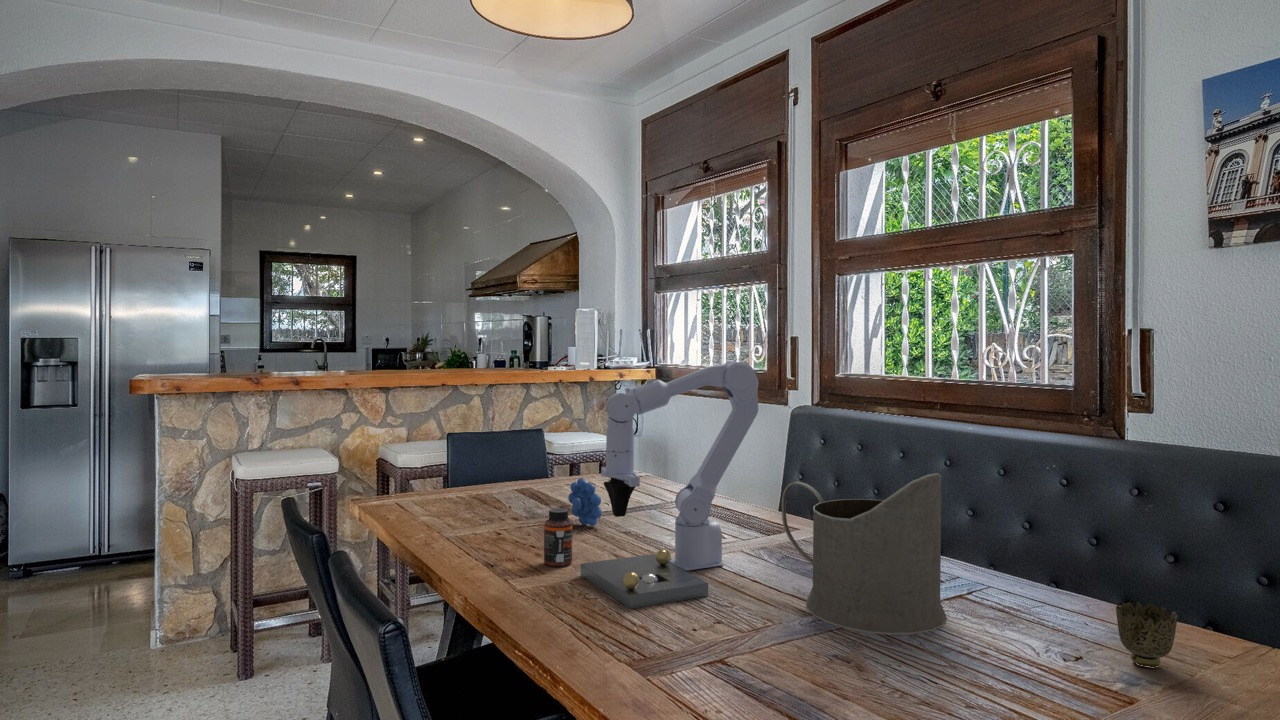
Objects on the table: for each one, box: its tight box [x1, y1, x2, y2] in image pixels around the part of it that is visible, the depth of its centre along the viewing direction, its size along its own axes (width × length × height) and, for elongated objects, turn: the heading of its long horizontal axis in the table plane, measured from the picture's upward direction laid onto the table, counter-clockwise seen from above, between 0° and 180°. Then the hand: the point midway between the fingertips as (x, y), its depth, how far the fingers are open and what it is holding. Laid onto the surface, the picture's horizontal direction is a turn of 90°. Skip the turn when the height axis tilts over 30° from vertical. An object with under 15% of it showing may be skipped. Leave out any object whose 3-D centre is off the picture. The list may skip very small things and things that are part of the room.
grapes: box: [567, 477, 603, 527], centre depth 195 cm, size 12×7×12 cm, turn 48°
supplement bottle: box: [543, 508, 574, 568], centre depth 160 cm, size 6×6×11 cm
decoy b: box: [623, 572, 639, 589], centre depth 135 cm, size 3×3×3 cm
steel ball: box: [641, 573, 658, 584], centre depth 142 cm, size 3×3×3 cm
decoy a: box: [655, 549, 672, 565], centre depth 151 cm, size 3×3×3 cm
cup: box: [1114, 601, 1179, 667], centre depth 109 cm, size 8×7×8 cm
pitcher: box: [781, 472, 948, 636], centre depth 135 cm, size 23×32×25 cm
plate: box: [580, 553, 709, 610], centre depth 145 cm, size 16×22×2 cm
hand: (619, 515), depth 159 cm, fingers closed
